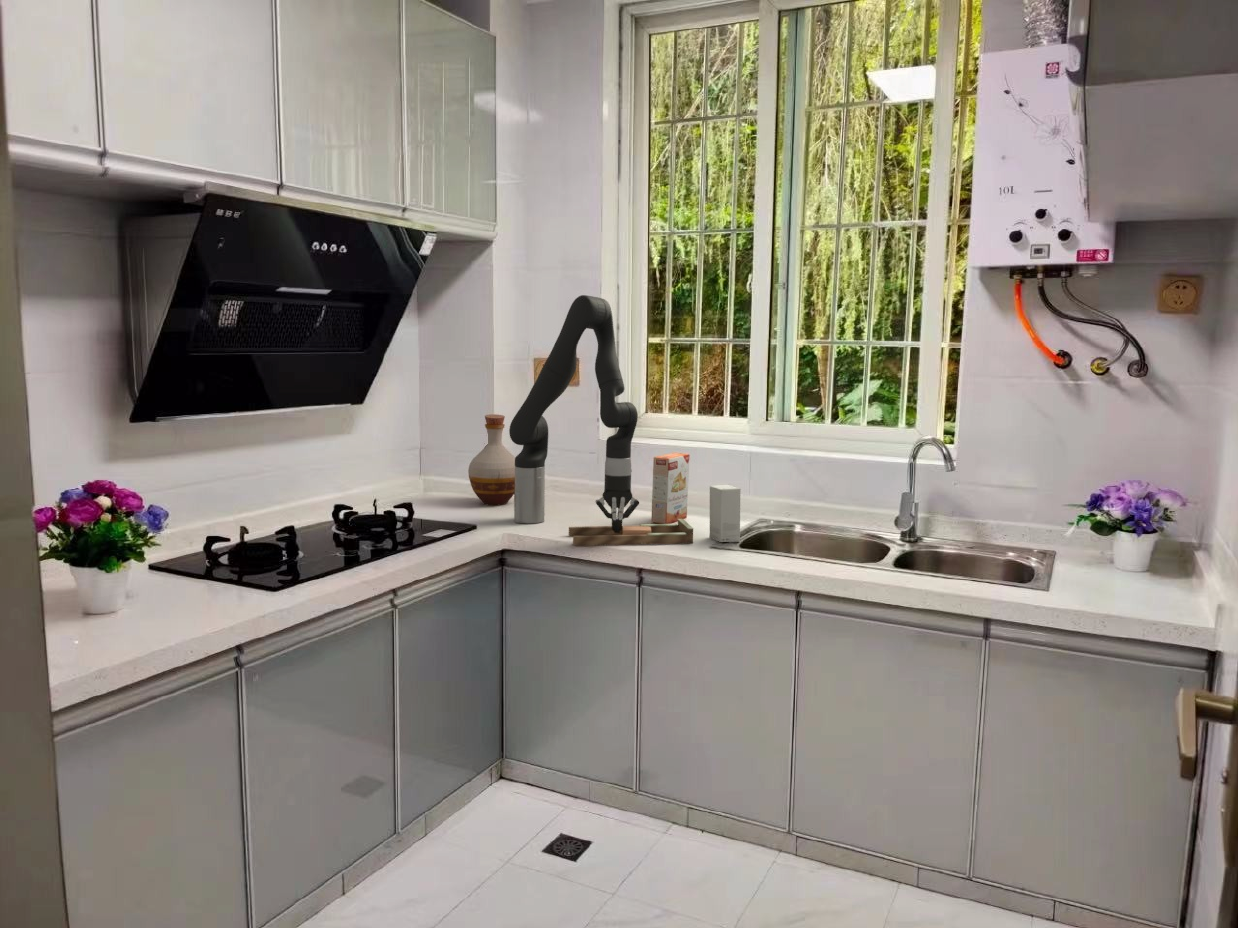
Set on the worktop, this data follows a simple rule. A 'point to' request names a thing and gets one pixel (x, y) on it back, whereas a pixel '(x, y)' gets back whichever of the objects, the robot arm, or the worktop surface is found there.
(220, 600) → the worktop surface
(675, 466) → the cracker box
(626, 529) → the terracotta block
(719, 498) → the skincare box
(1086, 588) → the worktop surface
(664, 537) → the track
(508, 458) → the jug
